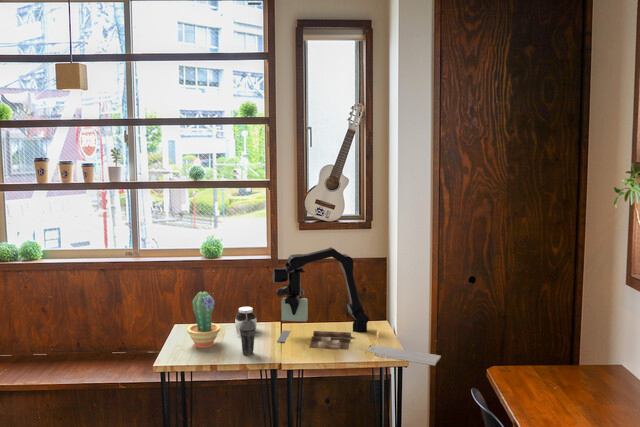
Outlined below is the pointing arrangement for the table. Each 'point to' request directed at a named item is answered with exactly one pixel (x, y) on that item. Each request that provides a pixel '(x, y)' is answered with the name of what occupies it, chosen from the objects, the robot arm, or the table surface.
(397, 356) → the baseboard molding
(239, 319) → the spread jar
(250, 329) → the beverage cup
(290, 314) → the tall board
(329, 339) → the offcut stack
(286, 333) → the rubber mat
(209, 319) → the potted cactus
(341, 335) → the board rack
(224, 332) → the table surface
